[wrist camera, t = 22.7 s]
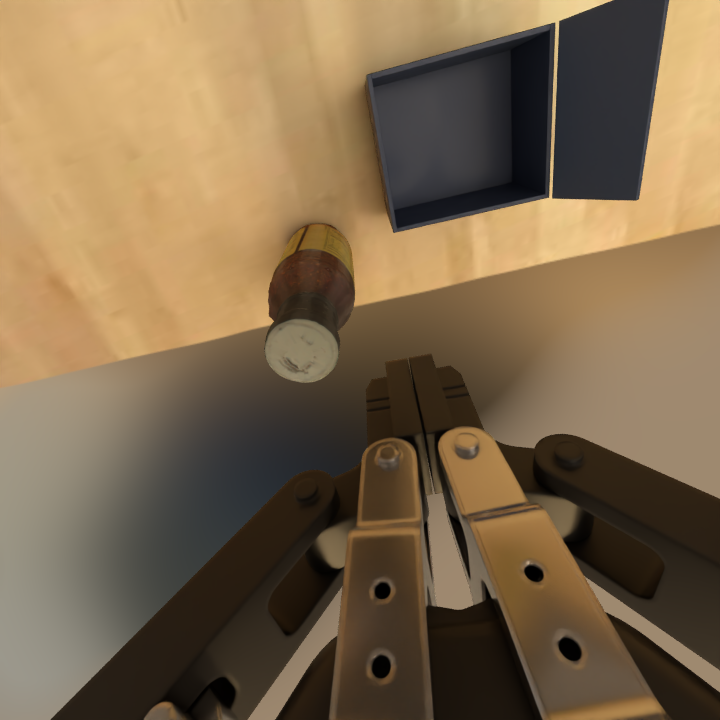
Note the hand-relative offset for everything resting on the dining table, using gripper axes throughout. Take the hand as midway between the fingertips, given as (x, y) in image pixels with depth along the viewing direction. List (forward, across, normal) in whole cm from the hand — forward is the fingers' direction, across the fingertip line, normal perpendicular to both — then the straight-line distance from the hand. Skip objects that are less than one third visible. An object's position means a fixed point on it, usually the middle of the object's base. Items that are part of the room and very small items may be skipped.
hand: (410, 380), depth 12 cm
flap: (+16, -14, -5) cm, 22 cm away
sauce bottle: (+27, +6, +2) cm, 28 cm away
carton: (+27, -7, -5) cm, 28 cm away
